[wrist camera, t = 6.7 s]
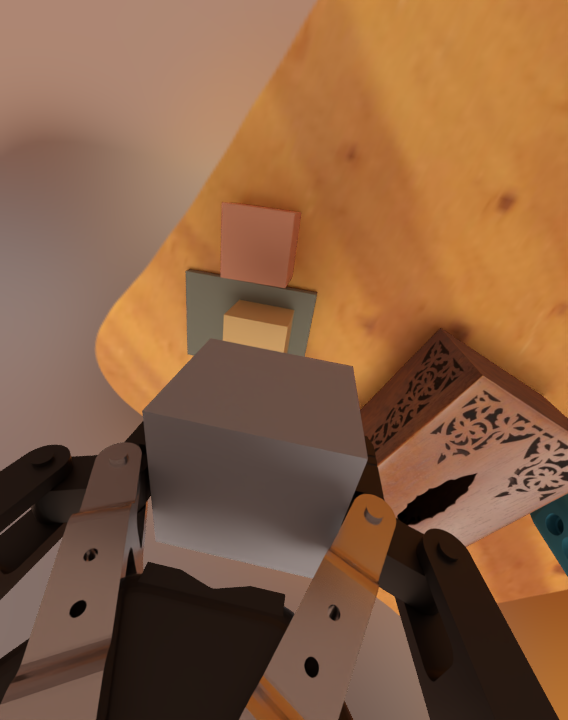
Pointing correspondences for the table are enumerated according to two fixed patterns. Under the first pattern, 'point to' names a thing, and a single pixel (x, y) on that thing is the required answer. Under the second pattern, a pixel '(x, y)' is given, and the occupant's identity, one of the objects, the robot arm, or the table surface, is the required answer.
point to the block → (554, 528)
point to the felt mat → (218, 295)
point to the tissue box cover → (464, 443)
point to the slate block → (255, 455)
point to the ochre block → (258, 325)
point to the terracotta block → (258, 244)
